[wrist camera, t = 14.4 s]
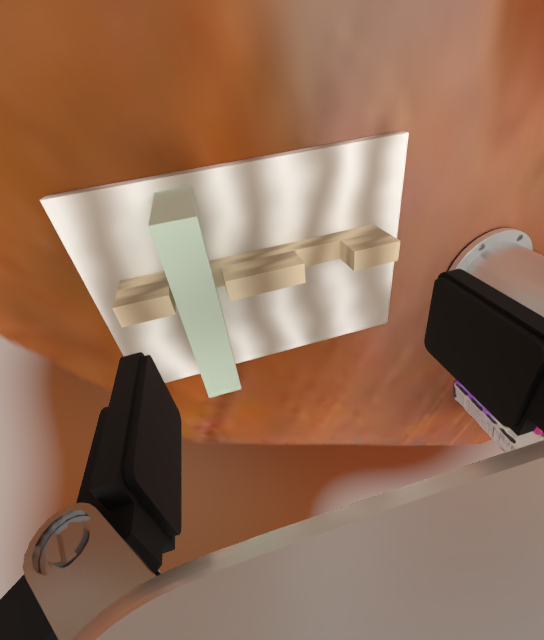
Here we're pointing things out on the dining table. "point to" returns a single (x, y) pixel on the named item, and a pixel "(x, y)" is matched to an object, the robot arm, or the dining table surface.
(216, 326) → the cross piece
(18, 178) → the dining table surface
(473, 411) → the candy box
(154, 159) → the dining table surface
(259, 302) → the white rectangular board
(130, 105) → the dining table surface
